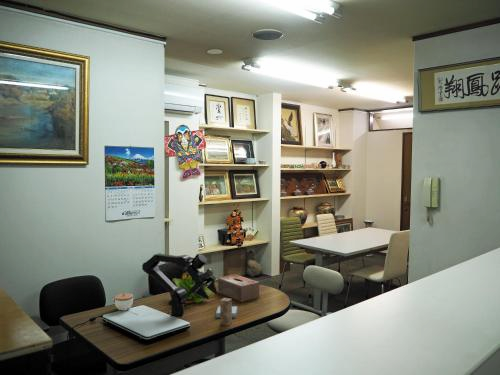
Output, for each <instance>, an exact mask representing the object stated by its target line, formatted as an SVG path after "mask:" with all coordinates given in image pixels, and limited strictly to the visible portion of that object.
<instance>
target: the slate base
mask: <svg viewBox="0 0 500 375" xmlns="http://www.w3.org/2000/svg"><path fill="white" fill-rule="evenodd" d="M237 314H238V306H237V305H236V306H233V305H232V319H233V318H235V319H236V318H237ZM215 318H220V305H219V306H218V307H217V310H216V312H215Z"/></svg>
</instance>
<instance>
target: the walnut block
mask: <svg viewBox="0 0 500 375" xmlns="http://www.w3.org/2000/svg"><path fill="white" fill-rule="evenodd" d="M232 299H233V298H230V297H223V298H221V299H220V300H219V303H220V304H219V306H220V317H219V318H220V323H219V324H220V325H223V326H227V327H228V326H230V325H231V324H232V323H233V318H232V306H233V304H232V302H233V300H232Z"/></svg>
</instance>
